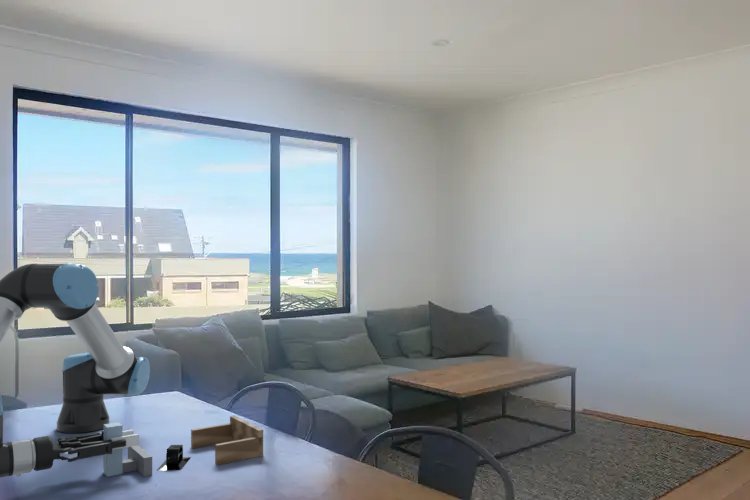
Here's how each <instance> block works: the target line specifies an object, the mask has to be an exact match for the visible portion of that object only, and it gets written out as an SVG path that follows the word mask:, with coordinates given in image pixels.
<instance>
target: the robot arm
mask: <svg viewBox="0 0 750 500" xmlns="http://www.w3.org/2000/svg"><path fill="white" fill-rule="evenodd" d="M99 289H100V288H99V286H98V279H97V276H96V274H95V273H94V271H93V270H92V269H91V268H90V267H89V266H87V265H84V264H79V263H77V264H76V263H74V262H67V263H28V264H24V265H21V266H18V267H16V268H15V269H13V270H11V271H10V272H8V273H7V274H6V275H4V276H3V277H2V278H1V279H0V343H1V342H2V340H3V339H4V337H5V335H6V334H7V332H8V330H9V329H10V327H11V326H12V324H13V322H14V321H16V320H19V319H21V318H22V316H23V314H24V313H25V312H26V311H28V310H29V309H31V308H35V309H37V308H39V309H41V308H42V309H43V308H46V309H49V310H50V311H51V313H52V314H53V316H54V317H55V318H56V319H58V320H59V321H62V322H66V323H67V324H68V325H69V327H70V328H71V330H72V332H73V333H74V334H75V336H76V337H77V339H78V340H79V341H80V343H81V344H82V345H83V347H84V348H85V350H87V352H80V353H77V354H71V355H68V356H66V357H65V358H64V359H63V362H62V364H63V365H62V371H61V372H62V406H61V409H60V412H59V415H58V417H57V420H56V431H57V432H59V433H65V434H80V435H74V436H68V437H57V440H56V441H55V442H53V440H52V437H51V436H50V435H46V436H39V437H34V438H33V439H30V438H25V439H19V440H13V441H6V442H4V412H5V411H4V407H3V405H4V404H3V395H2V393H0V478H5V477H11V476H16V477H21V476H22V474H27V473H31V472H32V471H33V470H34V471H35V472H39V471H40V472H41V471H44V470H45V471H46V470H49V469H52V467H53V465H54V461H56V460H60V461H67V462H69V463H72V462H75V461H78V460H82V459H87V458H92V457H97V456H98V457H99V456H104V454H112V450H115V449H120V448H122V449H125V448H128V447H131V446H137V445H139V446H140V434H139V433H135V434H134V429H127V430H122V436H121V437H115V438H111V440H104V424H110V415H109V412H108V410H107V406H106V403H105V401H104V395H112V396H128V397H130V396H139V395H140V394H142V393H143V392H144V391H145V390H146V388H147V386H148V383H149V381H150V374H151V365H150V364H151V363H150V361H149V359H148V358H147V357H143V356H140V357H139V356H136V355H135V353H134V352H133V350H132V349H131V348H130V347H128V346H125V345H123V344H122V342H121V341H120V340H119V338H118V337H117V335H116V333H115V332H114V331H113V329H112V327H111V326H110V324H109V323H108V321H107V320H106V318H105V317H104V315H103V314H102V312H101V311H100V309H99V308H98V306H97V304H96V303H97V298H98V296H99ZM102 429H103V430H102ZM99 430H101V432H99ZM95 431H96V432H95ZM97 431H98V432H97ZM89 432H92V433H89ZM93 432H94V433H93ZM81 433H82V434H81ZM83 433H87V434H83Z"/></svg>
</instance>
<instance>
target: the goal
mask: <svg viewBox="0 0 750 500" xmlns="http://www.w3.org/2000/svg"><path fill="white" fill-rule="evenodd" d="M190 442H191V443H190V447H191V449H198V448H202V447H203V448H204V447H208V446H214V445H215V446H214V456H215V457H214V462H215V463H214V464H215V465H216V466H219V465H226V464H229V463H234V462H239V461H243V460H244V461H245V460H249V459H254V458H258V457H263V456H264V429H263V428H261V427H259V426H257V425H254V424H252V423H250V422H249V421H246V420H245V419H243V418H240V417H239V416H237V415H231V416H229V422H228V423H222V424H217V425H211V426H204V427H198V428H192V429H190Z"/></svg>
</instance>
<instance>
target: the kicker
mask: <svg viewBox="0 0 750 500" xmlns="http://www.w3.org/2000/svg"><path fill="white" fill-rule="evenodd" d="M103 431H104V440H111V438H115V437H121V436H122V431H123V424H122V423H120V422H119V421H116V422H109V424H104V428H103ZM133 471H134V472H135V471H137V472H138V473H140V474H141V475H142V476H143V477H147V476H148V477H149V476H153V455H151V454H150V453H149V452H147V451H146V450H145V449H144V448H143V447H141V445H140V444H139V445H137V446H131V447H127V459H123V448H120V449H115V450H112V454H104V455H103V474H104V475H105V476H106V477H112V476H113V477H114V476H117V475H118V476H119V475H122V474H124V473H129V472H133Z"/></svg>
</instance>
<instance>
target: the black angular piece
mask: <svg viewBox="0 0 750 500" xmlns="http://www.w3.org/2000/svg"><path fill="white" fill-rule="evenodd" d="M165 455H166V456H165V457H166V458H165V459H166V460H165V461H163V462H162V464H161V465H160V466H159V467H158V468H157V469H156V471H158V472H159V471H181V470H182V469H184V467H185V465H187V463H188V462H189V461H190V459H191V458H192V457H191V456H189V457H188V456H185V457H184V447H183V444H170V445H169V447H167V449H166V454H165Z"/></svg>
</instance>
